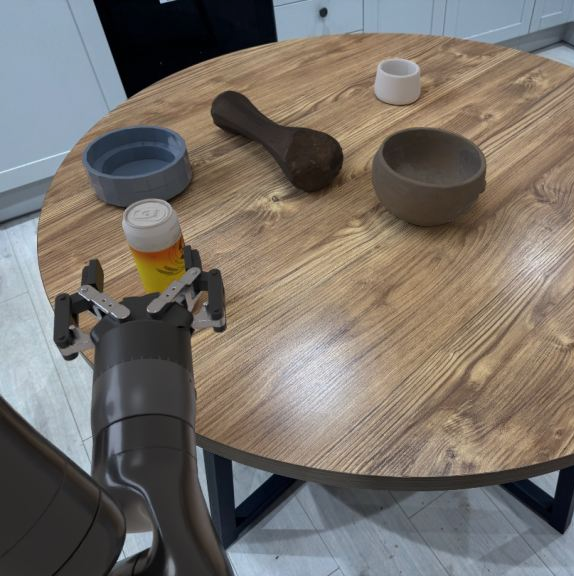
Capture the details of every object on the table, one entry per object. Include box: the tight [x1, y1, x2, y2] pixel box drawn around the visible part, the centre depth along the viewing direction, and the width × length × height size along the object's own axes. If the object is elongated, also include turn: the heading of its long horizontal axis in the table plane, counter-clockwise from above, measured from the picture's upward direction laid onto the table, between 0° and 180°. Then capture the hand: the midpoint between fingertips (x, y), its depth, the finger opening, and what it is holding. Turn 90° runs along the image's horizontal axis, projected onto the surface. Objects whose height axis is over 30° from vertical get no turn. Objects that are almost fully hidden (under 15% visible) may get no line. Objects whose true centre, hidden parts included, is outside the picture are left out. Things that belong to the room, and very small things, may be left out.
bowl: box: [370, 126, 488, 227], centre depth 89 cm, size 17×18×10 cm
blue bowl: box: [81, 124, 193, 208], centre depth 91 cm, size 15×15×6 cm
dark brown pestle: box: [209, 89, 344, 192], centre depth 98 cm, size 11×10×28 cm
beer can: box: [121, 199, 198, 306], centre depth 70 cm, size 6×6×15 cm
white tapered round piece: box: [373, 58, 422, 106], centre depth 118 cm, size 12×10×6 cm
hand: (143, 258), depth 56 cm, fingers open, 8 cm apart
